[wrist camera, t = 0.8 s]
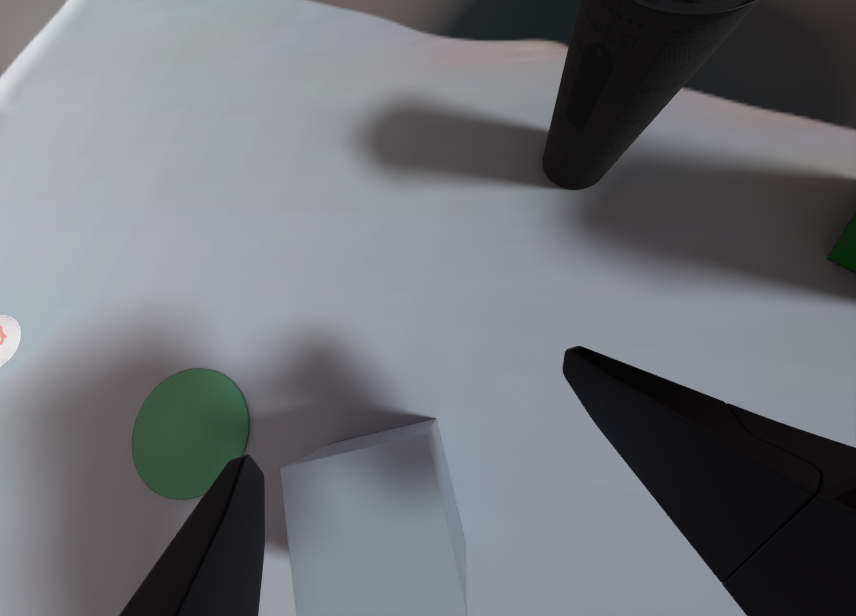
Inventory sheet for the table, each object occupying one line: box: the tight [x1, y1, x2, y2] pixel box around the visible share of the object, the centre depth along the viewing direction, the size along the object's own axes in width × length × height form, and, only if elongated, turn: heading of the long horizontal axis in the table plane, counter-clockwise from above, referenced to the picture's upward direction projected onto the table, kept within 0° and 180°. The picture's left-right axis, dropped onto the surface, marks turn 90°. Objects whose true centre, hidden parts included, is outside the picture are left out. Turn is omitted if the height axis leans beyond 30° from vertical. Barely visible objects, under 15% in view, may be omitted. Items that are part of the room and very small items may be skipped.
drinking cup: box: [543, 0, 759, 190], centre depth 15 cm, size 8×8×20 cm
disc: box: [132, 369, 249, 499], centre depth 23 cm, size 9×9×1 cm
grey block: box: [280, 419, 467, 616], centre depth 18 cm, size 8×8×6 cm
